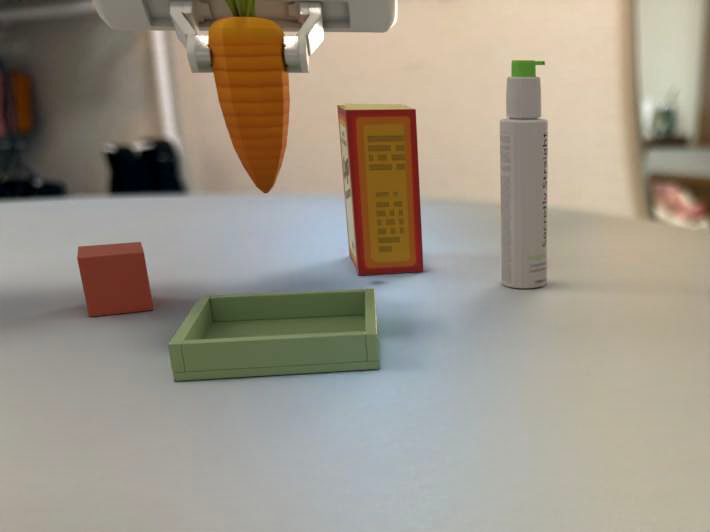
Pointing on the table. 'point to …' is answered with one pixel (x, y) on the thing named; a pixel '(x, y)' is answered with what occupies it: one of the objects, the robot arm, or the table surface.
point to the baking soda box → (381, 187)
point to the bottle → (524, 180)
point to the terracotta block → (114, 278)
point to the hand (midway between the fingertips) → (250, 66)
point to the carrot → (252, 89)
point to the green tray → (276, 335)
